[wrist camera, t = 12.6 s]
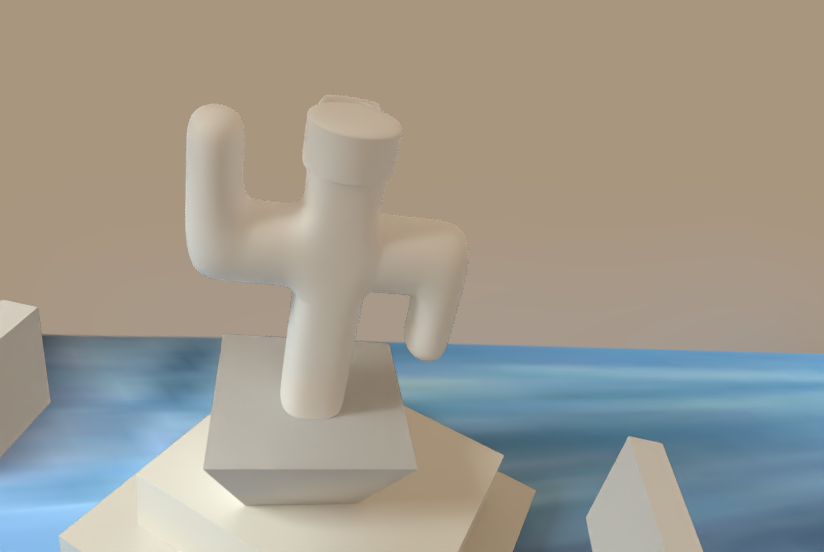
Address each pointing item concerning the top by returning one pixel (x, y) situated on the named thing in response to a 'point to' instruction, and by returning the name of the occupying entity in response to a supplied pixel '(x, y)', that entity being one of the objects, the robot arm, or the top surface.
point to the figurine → (316, 307)
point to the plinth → (314, 507)
